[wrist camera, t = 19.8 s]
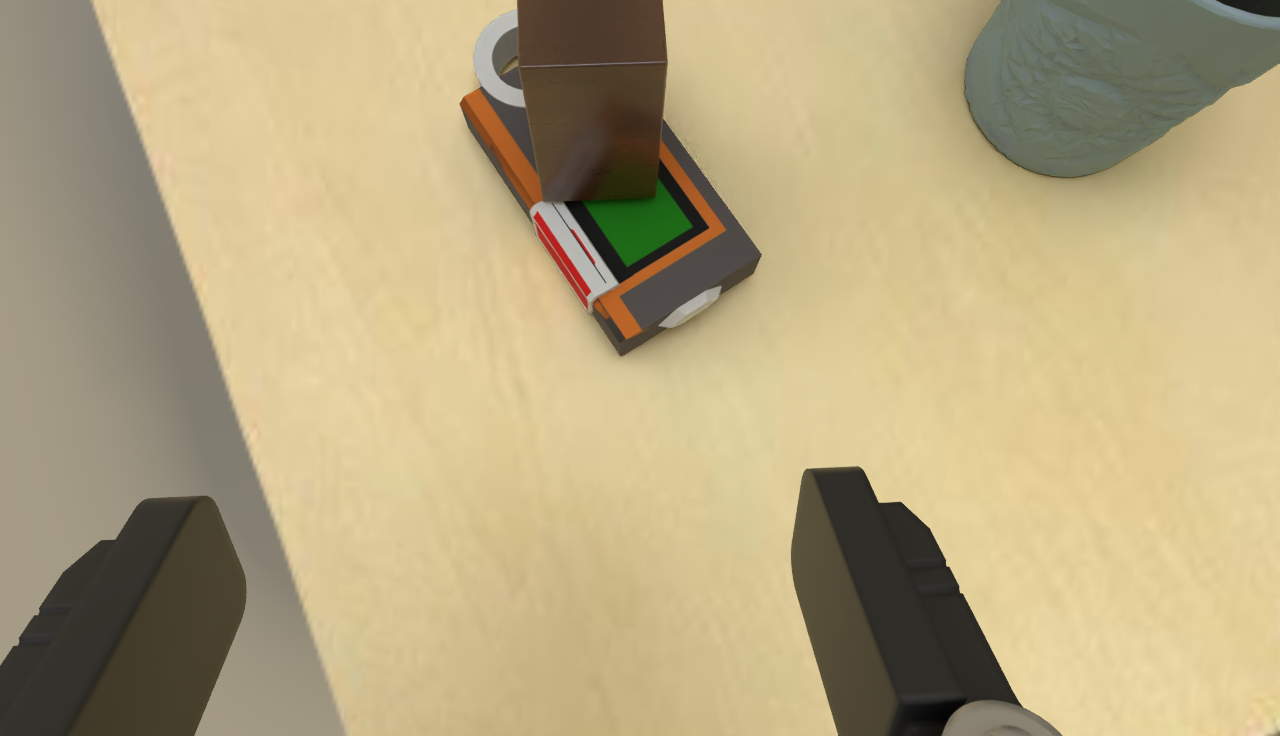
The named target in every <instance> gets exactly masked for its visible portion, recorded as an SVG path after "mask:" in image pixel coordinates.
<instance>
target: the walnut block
mask: <svg viewBox="0 0 1280 736" xmlns="http://www.w3.org/2000/svg"><path fill="white" fill-rule="evenodd" d="M517 19H518V69H519V74H520V79H521V85H522V90H523V96H524V101H525V107H526V112H527V118H528V123H529V129H530V134H531V139H532V145H533V150H534V156H535V161H536V167H537V172H538V178H539V183H540V189H541V194H542V199H543V202H557V201H581V200H606V199H631V198H654V197H656V190H657V178H658V167H659V156H660V144H661V133H662V122H663V110H664V99H665V88H666V77H667V65H668V60H667V48H666V35H665V23H664V11H663V0H517Z"/></svg>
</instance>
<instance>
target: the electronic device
mask: <svg viewBox="0 0 1280 736" xmlns="http://www.w3.org/2000/svg"><path fill="white" fill-rule="evenodd" d="M515 56H518V19H517V10H513V11H510V12H507V13H505V14H503V15H500V16H499V17H498V18H496V19H495V20H493V21H492V22H491V23H490V24H489V25H488V26H487V27H486V28H485V29H484V30H483V32H482V33H481V34H480V36H479V38H478V40H477V43H476V45H475V49H474V55H473V60H474V68H475V72H476V76H477V79H478V82H479V85H480V88H479V89H477V90H475V91H473V92H471V93H470V94H468V95H466V96H464V97H463V99H462V101H461V102H460V106H461V109H462V111H463V114H464V117H465V119H466V122H467V125H468V127H469V129H470V130H471V132H472V133H473V135H474V136H475V138H476V139H477V141H478V142H479V144H480V145H481V147H482V148H483V150H484V151H485V153H486V154H487V156H488V157H489V159H490V160H491V162H492V164H493V165H494V167H495V168H496V170H497V171H498V173H499V174H500V176H501V177H502V179H503V180H504V182H505V183H506V185H507V186H508V188H509V189H510V191H511V192H512V194H513V195H514V197H515V198H516V200H517V201H518V203H519V204H520V206H521V207H522V209H523V210H524V212H525V213H526V215H527V216H528V218H529V219H530V221H531V222H532V224H533V226H534V230H535V235H536V236H537V238H538V239H539V241H540V242H541V244H542V245H543V247H544V248H545V250H546V251H547V253H548V254H549V256H550V257H551V259H552V260H553V262H554V263H555V265H556V266H557V268H558V269H559V271H560V272H561V274H562V275H563V277H564V278H565V280H566V281H567V283H568V284H569V286H570V287H571V289H572V290H573V292H574V293H575V295H576V296H577V298H578V299H579V301H580V302H581V304H582V305H583V307H584V308H585V310H586V311H587V313H588V314H589V315H594V317H595V318H596V320H597V321H598V323H599V324H600V326H601V327H602V329H603V330H604V332H605V333H606V335H607V336H608V338H609V339H610V341H611V342H612V344H613V345H614V347H615V348H616V350H617V351H618V353H619V354H620V356H623V355H625V354H626V353H628V352H629V351H631V350H632V349H634V348H636V347H637V346H639V345H640V344H642V343H644V342H645V341H647V340H648V339H650V338H652V337H653V336H655V335H656V334H658V333H660V332H661V331H663V330H664V329H666V328H668V327H669V328H673V327H676V326H679V325H681V324H683V323H684V322H686V321H688V320H689V319H691V318H692V317H694V316H696V315H697V314H699V313H700V312H702V311H703V310H705V309H707V308H708V307H709V306H711V305H712V304H713V303H714V302H715V301H716V300H717V299H718V298H719V295H720V294H722V293H723V292H725V291H726V290H728V289H730V288H731V287H733V286H734V285H736V284H738V283H739V282H741V281H742V280H744V279H746V278H747V277H749V276H750V275H752V274H753V273H754V271H755V269H756V267H757V264H758V262H759V260H760V257H761V255H762V254H761V253H760V252H759V250H758V249H757V247H756V246H755V245H754V243H753V242H752V241H751V239H750V238H749V236H748V235H747V234H746V232H745V231H744V229H743V228H742V227H741V225H740V224H739V223H738V221H737V220H736V218H735V217H734V216H733V214H732V213H731V212H730V210H729V209H728V207H727V206H726V205H725V203H724V202H723V201H722V199H721V198H720V196H719V195H718V194H717V192H716V191H715V190H714V188H713V187H712V185H711V184H710V183H709V181H708V180H707V179H706V177H705V176H704V174H703V173H702V172H701V170H700V169H699V168H698V166H697V165H696V163H695V162H694V161H693V159H692V158H691V156H690V155H689V154H688V152H687V151H686V150H685V148H684V147H683V145H682V144H681V143H680V141H679V140H678V139H677V137H676V136H675V134H674V133H673V132H672V130H671V129H670V128H669V126H668V125H667V123H666V122H665V121H664V119H663V122H662V133H661V144H660V156H659V167H658V178H657V190H656V197H654V198H631V199H606V200H581V201H557V202H543V199H542V194H541V189H540V183H539V178H538V172H537V167H536V161H535V156H534V150H533V145H532V139H531V134H530V129H529V123H528V118H527V112H526V107H525V101H524V96H523V90H522V85H521V79H520V74H519V69H518V67H516V68H514V69H513V70H511V71H509V72H507V73H505V74H504V75H502V76H500V74H501V72H502V69H503V68H504V66H505V65H506V64H507V63H508V62H509V61H510V60H511V59H513V58H514V57H515Z"/></svg>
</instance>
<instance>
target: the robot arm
mask: <svg viewBox="0 0 1280 736" xmlns="http://www.w3.org/2000/svg"><path fill="white" fill-rule="evenodd" d="M791 565H792V574H793V581H794V586H795V590H796V593H797V597H798V600H799V603H800V607H801V610H802V614H803V617H804V620H805V624H806V627H807V631H808V634H809V637H810V641H811V644H812V648H813V651H814V654H815V658H816V661H817V665H818V668H819V671H820V675H821V678H822V681H823V685H824V688H825V692H826V695H827V698H828V702H829V705H830V709H831V712H832V715H833V719H834V722H835V726H836V729H837V732H838V736H1062V735H1061V733H1060V732H1059V731H1057V730H1056V729H1055V728H1054V727H1053V726H1052V725H1051V724H1050V723H1048V722H1047V721H1045V720H1044V719H1043V718H1041V717H1040V716H1038V715H1036V714H1035V713H1033V712H1031V711H1029V710H1027V709H1025V708H1023V707H1022V705H1021V704H1020V703H1019V701H1018V699H1017V698H1016V696H1015V694H1014V693H1013V691H1012V689H1011V687H1010V685H1009V683H1008V681H1007V679H1006V677H1005V675H1004V673H1003V671H1002V669H1001V667H1000V665H999V663H998V661H997V659H996V658H995V656H994V654H993V652H992V650H991V648H990V646H989V644H988V642H987V640H986V638H985V636H984V634H983V632H982V630H981V628H980V626H979V624H978V622H977V620H976V618H975V616H974V614H973V612H972V610H971V609H970V607H969V605H968V603H967V601H966V599H965V597H964V595H963V593H962V594H960V591H959V585H958V583H957V581H956V579H955V577H954V575H953V573H952V571H951V569H950V567H947V566H946V560H945V558H944V556H943V554H942V552H941V550H940V548H939V546H938V544H937V542H936V540H935V538H934V536H933V534H932V532H931V530H930V528H929V527H927V526H926V525H925V524H924V523H923V522H922V521H921V520H920V519H919V518H918V517H917V516H916V515H915V514H913V513H912V512H911V511H910V510H909V509H908V508H907V507H906V506H905V505H904V504H903V503H902V502H890V503H879V502H878V500H877V498H876V496H875V493H874V491H873V489H872V487H871V485H870V482H869V480H868V478H867V476H866V474H865V472H864V471H863V469H862V468H860V467H858V466H856V467H835V468H814V469H806V470H805V471H804V473H803V476H802V481H801V487H800V494H799V500H798V506H797V513H796V519H795V526H794V532H793V539H792V546H791ZM245 604H246V580H245V575H244V571H243V569H242V566H241V564H240V561H239V559H238V556H237V554H236V551H235V549H234V546H233V544H232V542H231V539H230V536H229V534H228V532H227V529H226V527H225V524H224V522H223V519H222V517H221V514H220V512H219V509H218V507H217V505H216V503H215V502H214V500H213V499H211V498H210V497H208V496H189V497H168V498H149V499H145V500H143V501H142V502H141V503H140V504H138V506H137V507H136V508H135V510H134V511H133V513H132V515H131V516H130V518H129V519H128V521H127V522H126V524H125V525H124V527H123V529H122V530H121V532H120V534H119V535H118V537H117V538H116V540H102V541H100V542H98V543H97V544H96V545H95V546H94V547H93V548H91V549H90V550H89V551H88V552H87V553H85V554H84V555H83V556H82V557H81V558H80V559H78V560H77V561H76V562H75V563H74V564H73V565H71V566H70V567H69V568H68V569H67V570H65V571H64V572H63V573H62V575H61V576H60V578H59V579H58V581H57V582H56V584H55V586H54V587H53V588H52V590H51V591H50V593H49V594H48V596H47V597H46V599H45V600H44V602H43V603H42V605H41V606H40V608H39V610H40V612H39V615H35V616H34V617H33V618H32V620H31V621H30V622H29V624H28V625H27V627H26V628H25V630H24V631H23V633H22V634H21V636H20V637H19V645H18V646H13V648H12V649H11V651H10V652H9V654H8V655H7V657H6V658H5V660H4V661H3V663H2V664H1V666H0V736H194V735H195V732H196V730H197V727H198V725H199V723H200V720H201V718H202V715H203V712H204V710H205V708H206V706H207V703H208V701H209V698H210V696H211V693H212V691H213V688H214V686H215V684H216V681H217V679H218V676H219V674H220V671H221V669H222V666H223V664H224V662H225V659H226V657H227V654H228V652H229V649H230V647H231V645H232V642H233V640H234V637H235V635H236V632H237V630H238V627H239V625H240V623H241V620H242V617H243V614H244V609H245Z"/></svg>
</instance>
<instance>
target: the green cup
mask: <svg viewBox="0 0 1280 736" xmlns="http://www.w3.org/2000/svg"><path fill="white" fill-rule="evenodd" d="M1279 63H1280V0H1001V2H1000V4H999V5H998V7H997V9H996V10H995V12H994V14H993V16H992V17H991V19H990V20H989V21H988V23H987V24H986V26H985V28H984V29H983V31H982V32H981V34H980V35H979V37H978V39H977V40H976V42H975V43H974V45H973V48H972V50H971V52H970V55H969V57H968V59H967V67H966V75H965V85H966V90H965V92H964V94H965V96H966V99H967V101H968V102H969V104H970V109H969V110H970V112H971V113H972V114H973V117H974V121H975V122H976V123H977V124H978V126H979V128H980V129H981V131H982V132H983V133H984V134H985V136H986V138H987V139H988V140H989V141H990V142H991V143H992V144H993V145H994V146H996V148H997V149H998V150H999V152H1000V153H1003V154H1005V155H1006V157H1007V158H1008V159H1010V160H1012V161H1013V162H1014V163H1016V164H1018V165H1020V166H1022V167H1024V168H1026V169H1028V170H1031V171H1034V172H1037V173H1040V174H1045V175H1050V176H1058V177H1078V176H1083V175H1088V174H1093V173H1096V172H1099V171H1102V170H1105V169H1108V168H1110V167H1112V166H1114V165H1115V164H1117V163H1119V162H1121V161H1122V160H1124V159H1126V158H1128V157H1129V156H1131V155H1133V154H1134V153H1136V152H1138V151H1139V150H1141V149H1143V148H1144V147H1146V146H1148V145H1149V144H1151V143H1153V142H1154V141H1156V140H1157V139H1159V138H1160V137H1162V136H1163V135H1164V134H1165V133H1166V132H1168V131H1169V130H1170V129H1171V128H1172V127H1174V126H1176V125H1178V124H1180V123H1182V122H1183V121H1184V120H1186V119H1187V118H1188V117H1191V116H1193V115H1194V114H1196V113H1197V112H1199V111H1200V110H1202V109H1203V108H1205V107H1206V106H1209V105H1211V104H1213V103H1214V102H1216V101H1217V100H1218V99H1219V98H1220V97H1221V96H1222V95H1224V94H1225V93H1226V92H1227V91H1228V90H1229V89H1231V88H1233V87H1237V86H1241V85H1244V84H1247V83H1250V82H1252V81H1253V80H1255V79H1256V78H1258V77H1259V76H1261V75H1262V74H1264V73H1265V72H1267V71H1268V70H1270V69H1271V68H1273V67H1274V66H1276V65H1278V64H1279Z"/></svg>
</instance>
